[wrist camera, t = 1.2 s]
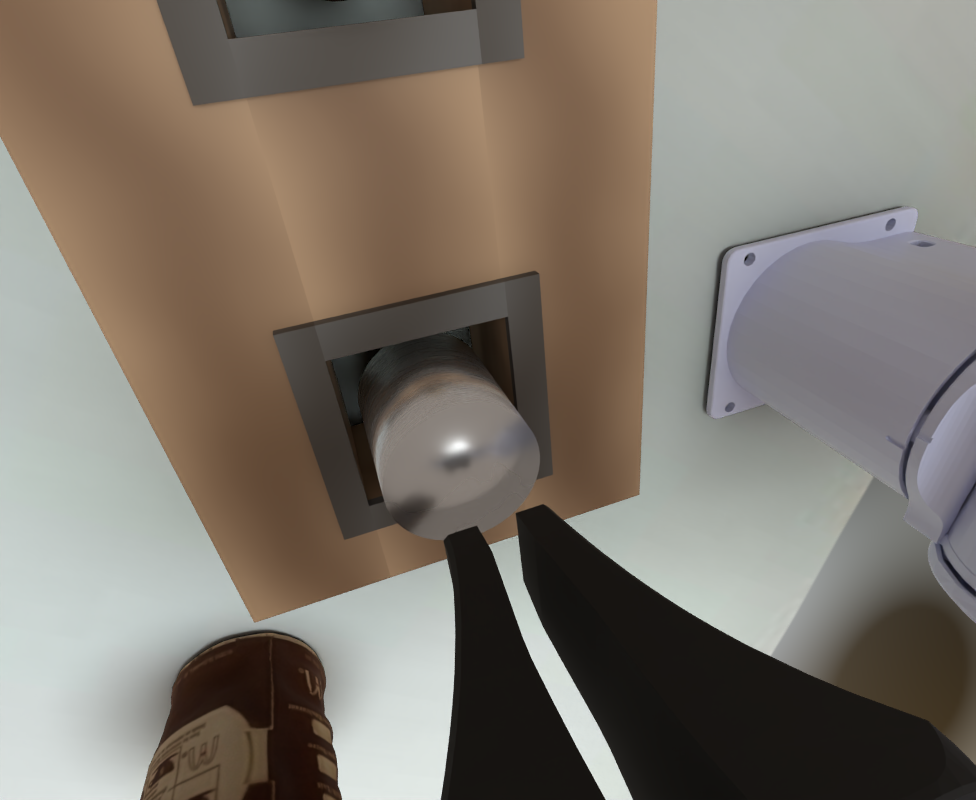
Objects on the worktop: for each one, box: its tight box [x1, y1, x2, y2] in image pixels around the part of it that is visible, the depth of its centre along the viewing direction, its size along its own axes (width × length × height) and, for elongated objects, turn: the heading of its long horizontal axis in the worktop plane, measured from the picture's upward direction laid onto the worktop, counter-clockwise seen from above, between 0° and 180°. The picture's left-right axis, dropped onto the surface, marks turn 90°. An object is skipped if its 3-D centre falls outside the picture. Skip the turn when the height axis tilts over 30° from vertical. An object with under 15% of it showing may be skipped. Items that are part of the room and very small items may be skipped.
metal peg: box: [358, 333, 540, 540], centre depth 16 cm, size 4×4×4 cm
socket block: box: [0, 0, 657, 623], centre depth 15 cm, size 14×24×5 cm, turn 6°
